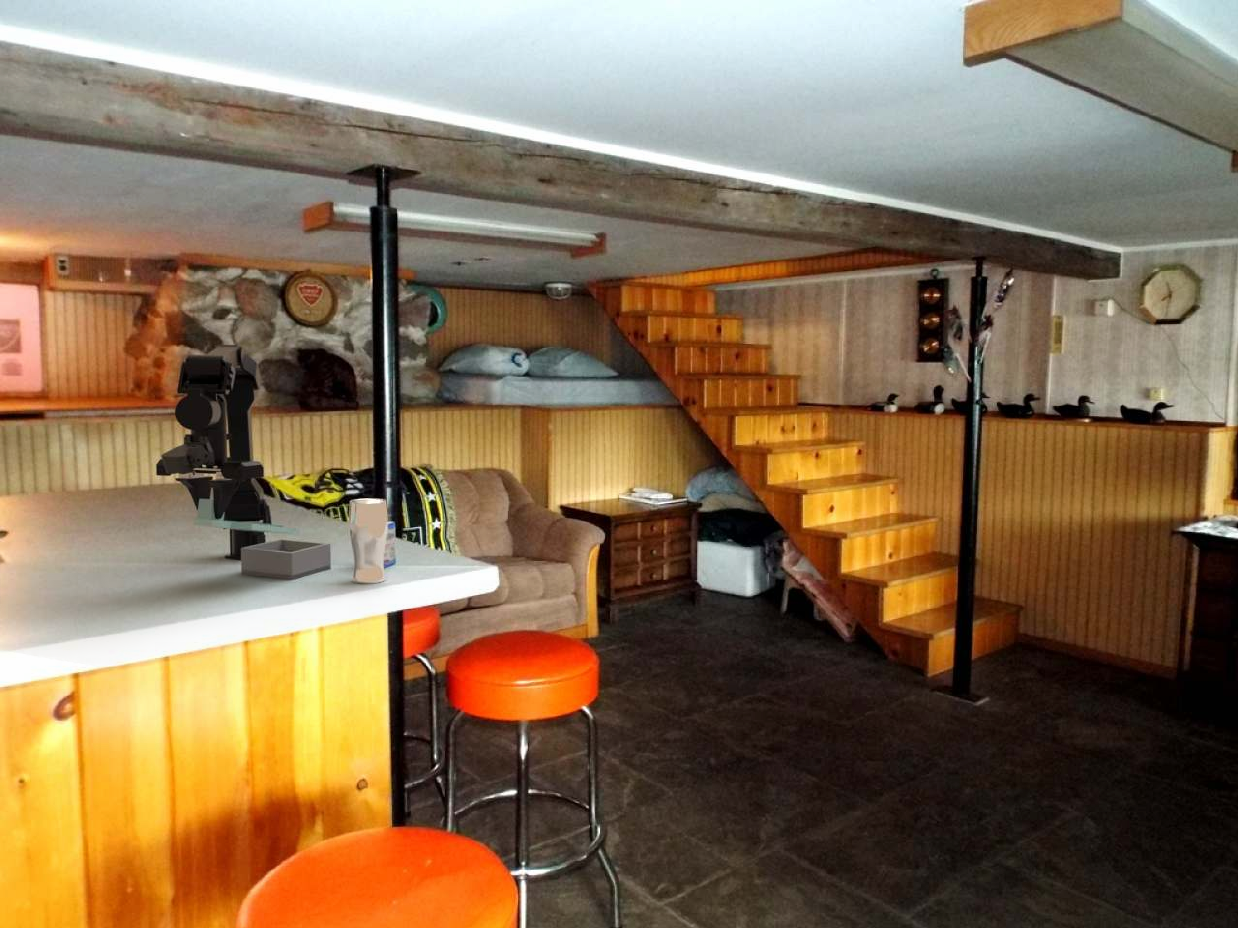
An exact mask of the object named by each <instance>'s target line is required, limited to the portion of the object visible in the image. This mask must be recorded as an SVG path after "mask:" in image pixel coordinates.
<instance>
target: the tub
mask: <svg viewBox="0 0 1238 928" xmlns="http://www.w3.org/2000/svg"><path fill="white" fill-rule="evenodd" d="M331 560H332V559H331V543H329V542H317V541H304V540H298V539H297V540H295V539H285V538H280V539H274V540H271V541H266V543H261V544H257V545H252V546H248V547H244V548H241V559H240V564H241V565H240V566H241V568H240V569H241V575H247V576H256V577H266V578H273V579H283V580H291V581H292V580H296V579H300V578H304V577H307V576H309V575H310V576H311V575H314V574H317V573H320V572H324V571H326V570H331V569H332V566H331V565H332V564H331V563H332V562H331Z"/></svg>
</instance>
